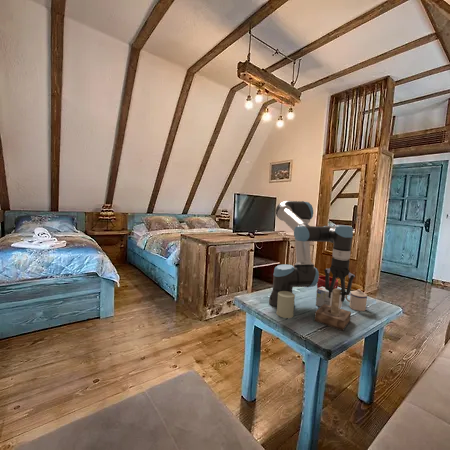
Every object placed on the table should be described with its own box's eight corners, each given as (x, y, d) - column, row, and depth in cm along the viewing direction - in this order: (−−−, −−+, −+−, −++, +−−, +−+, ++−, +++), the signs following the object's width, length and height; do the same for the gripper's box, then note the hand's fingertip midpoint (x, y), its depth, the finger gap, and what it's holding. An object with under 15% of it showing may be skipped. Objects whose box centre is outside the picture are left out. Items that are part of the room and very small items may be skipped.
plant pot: (328, 300, 157) (329, 282, 156) (311, 293, 168) (313, 276, 167) (340, 297, 163) (342, 280, 162) (324, 290, 175) (325, 274, 173)
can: (282, 309, 142) (284, 288, 140) (296, 315, 135) (298, 294, 134) (272, 313, 136) (274, 292, 134) (287, 319, 129) (288, 297, 128)
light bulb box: (337, 308, 145) (339, 291, 144) (332, 311, 141) (334, 293, 140) (320, 302, 153) (322, 285, 152) (315, 305, 149) (316, 288, 148)
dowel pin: (329, 313, 118) (332, 289, 116) (331, 311, 120) (334, 287, 119) (337, 316, 115) (340, 291, 114) (339, 313, 118) (342, 289, 117)
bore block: (314, 320, 129) (315, 311, 128) (323, 312, 140) (323, 303, 139) (343, 330, 120) (344, 321, 120) (350, 320, 131) (350, 311, 130)
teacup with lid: (368, 309, 147) (370, 290, 146) (362, 313, 141) (364, 293, 140) (347, 302, 156) (349, 284, 155) (341, 305, 150) (343, 287, 149)
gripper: (320, 256, 117) (315, 303, 119) (358, 263, 106) (352, 314, 109) (325, 253, 122) (320, 298, 125) (361, 260, 112) (356, 309, 115)
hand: (335, 305), depth 117 cm, fingers closed on dowel pin, 3 cm apart
